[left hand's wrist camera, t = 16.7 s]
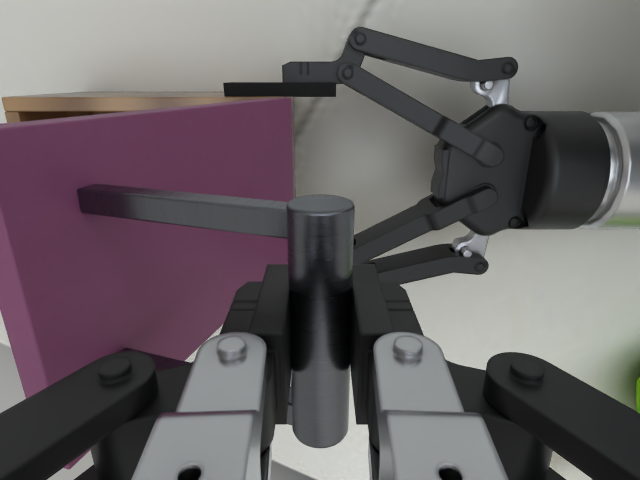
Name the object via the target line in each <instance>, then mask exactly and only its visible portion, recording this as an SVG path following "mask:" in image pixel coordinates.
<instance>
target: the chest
mask: <svg viewBox="0 0 640 480" xmlns="http://www.w3.org/2000/svg"><path fill="white" fill-rule="evenodd" d="M275 97H282V98H291V101H292V147H293V193H294V198H295V153H294V104H293V97H284V96H224V92H76V93H60V94H44V95H28V96H11V97H2V102H3V106H4V110H5V111H7V112H5V115H6V119H7V123H14V122H25V121H35V120H45V119H56V118H66V117H77V116H87V115H98V114H108V113H118V112H129V111H139V110H150V109H160V108H171V107H181V106H191V105H202V104H212V103H223V102H233V101H243V100H254V99H264V98H275Z"/></svg>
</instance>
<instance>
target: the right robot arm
mask: <svg viewBox="0 0 640 480" xmlns="http://www.w3.org/2000/svg"><path fill="white" fill-rule="evenodd" d="M365 55H366V56H369V57H373V58H376V59H380V60H383V61H387V62H391V63H394V64H398V65H401V66H405V67H408V68H412V69H416V70H419V71H423V72H426V73H430V74H434V75H437V76H441V77H444V78H448V79H451V80H456V81H465V82H470V89H471V91H472V92H473V93H474V94H477V95H482V96H483V97H484V98H485V99H486V101H487V105H486V106H484V107H483V108H482V109H480V110H479V111H477V112H476V113H474V114H473V115H471V116H470V117H469V118H467V119H466V120H464V121H463V122H461V123H460V124H458V123H456V122H454V121H453V120H451V119H449V118H447V117H445V116H443V115H441V114H439V113H438V112H436V111H434V110H433V109H431V108H429V107H427V106H426V105H424V104H422V103H421V102H419V101H417V100H415V99H414V98H412V97H410V96H409V95H407V94H405V93H403V92H402V91H400V90H398V89H397V88H395V87H393V86H391V85H390V84H388V83H386V82H384V81H383V80H381V79H379V78H378V77H376V76H374V75H372V74H371V73H369V72H367V71H366V70H364V69H362V68H360V67H361V64H362V61H363V58H364V56H365ZM517 70H518V63H517V61H516V60H515V59H514V58H512V57H504V58H494V59H485V60H476V59H473V58H469V57H466V56H462V55H459V54H455V53H452V52H448V51H445V50H441V49H438V48H434V47H431V46H427V45H424V44H420V43H417V42H413V41H410V40H406V39H403V38H399V37H396V36H392V35H389V34H385V33H382V32H378V31H375V30H371V29H368V28H364V27H358V28H355V29H354V30H353V31H352V32H351V33H350V35H349V37H348V39H347V42H346V45H345V48H344V51H343V53H342V55H341V57H340V58H339V59H338V60H336V61H333V62H289V63H287V64H284V65H282V75H283V83H264V82H231V83H223V84H224V96H284V97H336V84H345V85H346V86H348V87H350V88H352V89H353V90H355V91H357V92H359V93H360V94H362V95H364V96H366V97H367V98H369V99H371V100H373V101H374V102H376V103H378V104H380V105H381V106H383V107H385V108H387V109H388V110H390V111H392V112H394V113H395V114H397V115H399V116H401V117H402V118H404V119H406V120H408V121H409V122H411V123H413V124H415V125H416V126H418V127H420V128H422V129H423V130H425V131H427V132H428V133H430V134H432V135H434V136H435V137H437V138H439V139H440V141H439V142H438V145H435V149H434V161H435V166H436V170H435V172H434V175H433V178H432V182H431V192H432V193H433V194H432V195H429V196H427V197H425V198H423V199H422V200H420V201H419V202H418V203H417V204H416V205H415V206H413V207H411V208H409V209H407V210H404V211H402V212H400V213H398V214H396V215H394V216H392V217H390V218H388V219H386V220H384V221H382V222H380V223H378V224H376V225H374V226H372V227H370V228H368V229H366V230H364V231H362V232H360V233H358V234H356V235H354V242H353V264H375V266H376V269H377V273H378V276H379V280H380V282H396V283H397V284H398V285H400V284H404V283H409V282H413V281H418V280H422V279H427V278H431V277H435V276H440V275H444V274H449V273H453V272H454V273H465V274H476V275H480V274H483V273H485V272H486V271H487V269H488V262H487V261H486V259H485V258H484V254H485V250H486V246H487V242H488V238H489V236H490V235H493V234H495V233H497V232H499V231H502V230H505V229H575V228H577V227H580V228H582V229H588V230H597V229H640V112H606V111H602V112H593V113H591V114H588V113H586V112H582V111H519V110H517V109H515V108H514V107H512V106H511V105H508V101H509V81H510V78H512V77H513V76H514V75H515V74H516V72H517ZM457 221H460V222H461V223H462V224H464V225H465V226H466V227H468V228H469V229H470V232H469V234H468V235H466V236H465V237H460V238H456V239H454V241H453V243H452V244H439V245H434V246H430V247H425V248H421V249H417V250H412V251H408V252H404V253H399V254H395V255H391V256H387V257H382V258H378V259H374V260H371V259H373V258H375V257H377V256H379V255H381V254H383V253H385V252H387V251H389V250H391V249H393V248H396V247H398V246H400V245H402V244H404V243H406V242H408V241H410V240H412V239H414V238H416V237H418V236H421V235H423V234H425V233H427V232H429V231H431V230H440V229H442V228H444V227H447V226H449V225H451V224H453V223H455V222H457ZM368 260H369V261H368Z"/></svg>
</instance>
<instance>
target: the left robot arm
mask: <svg viewBox="0 0 640 480" xmlns="http://www.w3.org/2000/svg"><path fill="white" fill-rule="evenodd" d="M350 368H351V377H352V387H353V396H354V406H355V415H356V424H368V429H369V448H368V458H369V472H370V480H566V479H565V478H563V477H562V476H561V475H559V474H558V473H557V472H555V471H554V470H553V469H551V468H550V467H549V464H550V460H551V456H552V452H553V451H555V452H556V453H557V454H559V455H560V456H562V457H563V458H564V459H566V460H567V461H568V462H570V463H571V464H573V465H574V466H575V467H577V468H578V469H579V470H581V471H582V472H584V473H585V474H586V475H588V476H589V477H590V478H592V479H593V480H640V413H638V412H636V411H634V410H633V409H631V408H629V407H627V406H626V405H624V404H622V403H620V402H618V401H617V400H615V399H613V398H611V397H609V396H608V395H606V394H604V393H602V392H601V391H599V390H597V389H595V388H593V387H592V386H590V385H588V384H586V383H584V382H583V381H581V380H579V379H577V378H576V377H574V376H572V375H570V374H568V373H567V372H565V371H563V370H561V369H559V368H558V367H556V366H554V365H552V364H550V363H549V362H547V361H545V360H543V359H540V358H538V357H535V356H532V355H528V354H524V353H517V352H506V353H500V354H497V355H494V356H493V357H491V358H490V359H489V361H488V362H487V367H486V371H485V370H480V369H476V368H471V367H466V366H461V365H458V364H455V363H452V362H449V361H447V360H445V357H444V355H443V352H442V350H441V348H440V347H439V345H438V344H437V343H435V342H434V341H433V340H431V339H429V338H427V337H425V336H424V335H423V332H422V330H421V327H420V325H419V322H418V320H417V317H416V315H415V312H414V311H413V307H412V305H411V303H410V300H409V298H408V295H407V293H406V290H405V289H403V288H402V287H401V286H399V285H398V284H397V283H396V282H380V280H379V276H378V273H377V269H376V266H375V264H353V277H352V311H351V346H350ZM291 371H292V360H291V323H290V289H289V284H288V264H267V267H266V271H265V274H264V278H263V281H248V282H247V283H245V284H244V285H243V286H242V287H240V288H239V289H238V290H237V291H236V294H235V296H234V299H233V302H232V304H231V306H230V311H228V314H227V317H226V319H225V322H224V324H223V327H222V329H221V332H220V335H218V336H215V337H213V338H211V339H209V340H207V341H206V342H205V343H203V344H202V345H201V347H200V348H199V350H198V352H197V354H196V357H195V360H194V362H191V363H188V364H185V365H181V366H177V367H172V368H167V369H162V370H157V371H156V369H155V362H154V360H153V359H152V358H151V357H150V356H149V355H147V354H145V353H142V352H135V351H126V352H118V353H114V354H110V355H107V356H104V357H102V358H99V359H97V360H95V361H93V362H91V363H90V364H88V365H86V366H84V367H82V368H81V369H79V370H77V371H75V372H73V373H72V374H70V375H68V376H66V377H65V378H63V379H61V380H59V381H57V382H56V383H54V384H52V385H50V386H48V387H47V388H45V389H43V390H41V391H39V392H38V393H36V394H34V395H32V396H31V397H29V398H27V399H25V400H23V401H22V402H20V403H18V404H16V405H15V406H13V407H11V408H9V409H7V410H6V411H4V412H2V413H0V480H47V479H48V478H49V477H51V476H52V475H54V474H55V473H56V472H58V471H59V470H61V469H62V468H63V467H65V466H66V465H67V464H69V463H70V462H72V461H73V460H74V459H76V458H77V457H78V456H80V455H81V454H83V453H84V452H85V451H87V450H88V449H89V448H90V449H91V453H92V457H93V461H94V465H93V466H91V467H90V468H89V469H87V470H86V471H85V472H83V473H82V474H81V475H79V476H78V477H77V478H76V479H74V480H270V472H271V458H272V448H271V442H272V440H273V436H274V429H275V424H286V423H287V413H288V403H289V392H290V382H291Z"/></svg>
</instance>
